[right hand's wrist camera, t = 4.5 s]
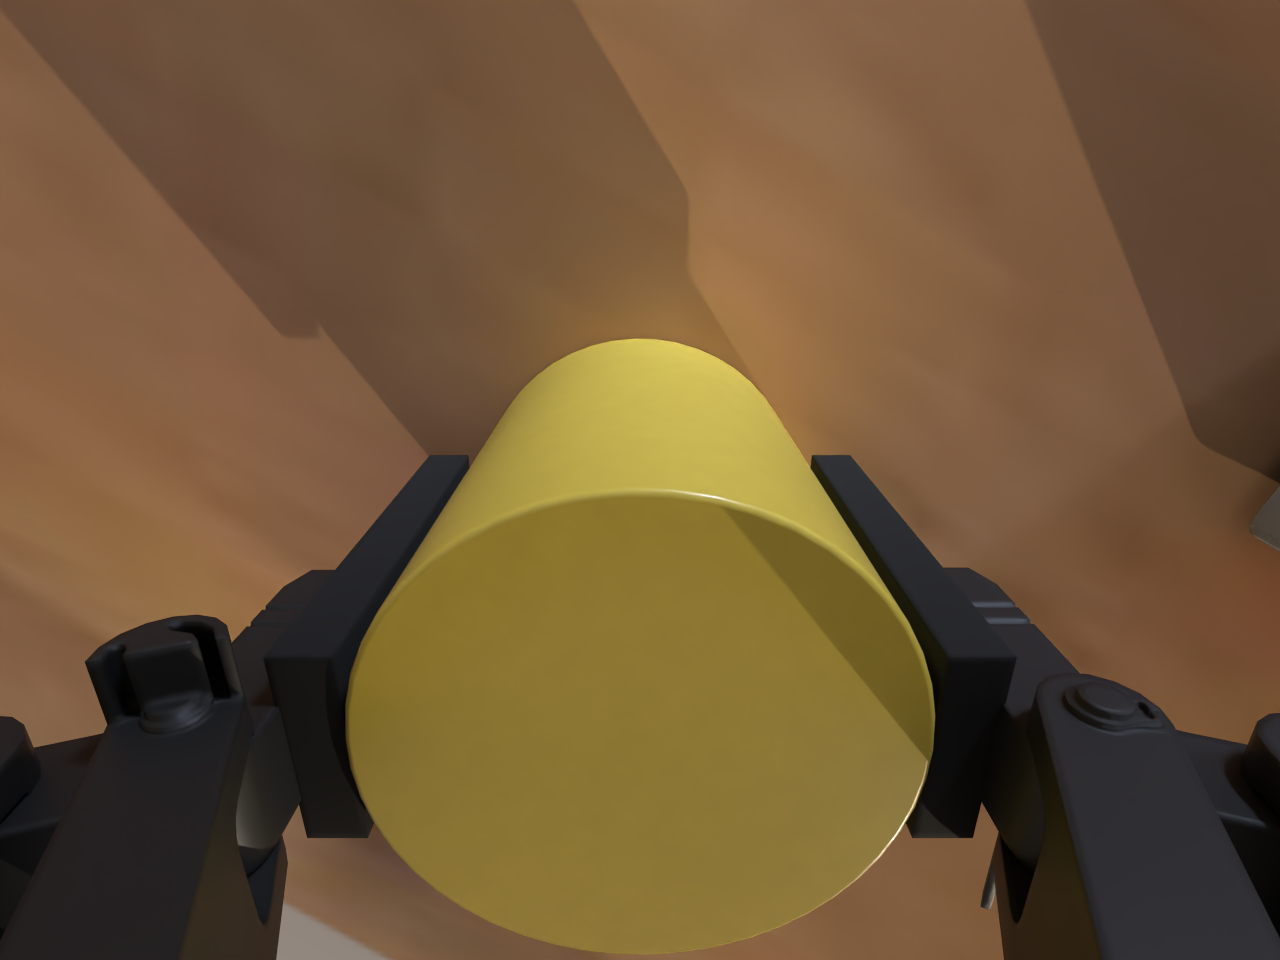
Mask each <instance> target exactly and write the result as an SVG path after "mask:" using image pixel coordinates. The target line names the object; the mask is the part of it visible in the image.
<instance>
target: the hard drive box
mask: <svg viewBox="0 0 1280 960" xmlns="http://www.w3.org/2000/svg"><path fill="white" fill-rule="evenodd" d="M1249 530H1250V533H1251V534H1252V535H1254V536H1255V537H1256V538H1258V539H1260V540H1261V541H1263V542H1265V543H1267V544H1268V545H1270V546H1272V547H1274V548H1275V549H1277V550H1279V551H1280V486H1279V487H1278V488H1277V489H1276V491H1275V492H1274V493H1273V494H1272V496H1271V497H1270V498H1269V499H1268V500H1267V502H1266V503H1265V504H1264V505H1263V506H1262V508H1261V509H1260V510H1259V511H1258V512H1257V514H1256V515H1255V516H1254V517H1253V519H1252V521H1251V523H1250V525H1249Z"/></svg>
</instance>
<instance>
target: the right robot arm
mask: <svg viewBox="0 0 1280 960" xmlns="http://www.w3.org/2000/svg"><path fill="white" fill-rule="evenodd" d="M468 470H469V460H468V455H430V456H429V457H428V458H427V460H426V461H425V462H424V463H423V464H422V466H421V467H420V468H419V469H418V470H417V472H416V473H415V474H414V475H413V477H412V478H411V479H410V480H409V481H408V483H407V484H406V485H405V486H404V487H403V489H402V490H401V491H400V492H399V493H398V495H397V496H396V497H395V498H394V499H393V501H392V502H391V503H390V504H389V506H388V507H387V508H386V509H385V510H384V512H383V513H382V514H381V515H380V516H379V518H378V519H377V520H376V521H375V522H374V524H373V525H372V526H371V527H370V529H369V530H368V531H367V532H366V533H365V535H364V536H363V537H362V538H361V539H360V541H359V542H358V543H357V544H356V545H355V547H354V548H353V549H352V550H351V551H350V553H349V554H348V555H347V556H346V558H345V559H344V560H343V561H342V562H341V564H340V565H339V566H338V567H337V568H336V570H311V571H309V572H308V573H306V574H304V575H303V576H301V577H299V578H298V579H296V580H294V581H293V582H291V583H289V584H287V585H286V586H284V587H283V588H282V589H281V590H280V591H279V592H278V593H277V595H276V596H275V597H274V598H273V599H272V600H271V601H270V602H269V603H268V604H267V605H266V610H262V611H261V612H260V613H259V614H258V615H257V616H256V617H255V618H254V619H253V620H252V622H251V626H250V627H246V628H245V629H244V630H243V631H242V632H241V633H240V635H239V636H238V637H237V638H236V639H235V640H234V641H233V642H232V643H231V639H230V635H229V632H228V628H227V625H226V624H224V623H223V622H221V621H220V620H219V619H217V618H215V617H208V616H202V615H188V616H176V617H170V618H166V619H162V620H158V621H154V622H150V623H146V624H144V625H141V626H139V627H136V628H134V629H131V630H129V631H126V632H124V633H121V634H120V635H118V636H116V637H115V638H113V639H111V640H110V641H108V642H107V643H105V644H103V645H102V646H100V647H99V648H98V649H97V650H96V651H95V652H94V653H93V654H92V655H91V656H90V657H89V658H88V659H87V660H86V661H85V664H86V667H87V669H88V672H89V675H90V678H91V680H92V683H93V686H94V689H95V692H96V694H97V697H98V700H99V703H100V705H101V708H102V711H103V714H104V716H105V719H106V722H107V727H106V729H105V731H104V733H102V734H98V735H94V736H89V737H84V738H79V739H74V740H69V741H65V742H60V743H55V744H50V745H45V746H40V747H35V748H33V745H32V743H31V741H30V738H29V736H28V733H27V731H26V729H25V726H24V724H22V723H21V722H19V721H17V720H16V719H14V718H13V717H4V716H0V960H276V955H277V947H278V939H279V931H280V923H281V915H282V906H283V898H284V890H285V882H286V874H287V866H288V861H287V854H286V848H285V844H284V840H283V837H282V833H283V831H284V830H285V828H286V826H287V824H288V823H289V821H290V819H291V817H292V816H293V814H294V812H295V810H296V808H297V807H298V805H299V806H300V810H301V814H302V818H303V822H304V826H305V830H306V835H307V838H368V836H369V834H370V831H371V829H372V827H373V824H374V822H373V820H372V818H371V816H370V814H369V812H368V810H367V809H366V807H365V805H364V803H363V801H362V799H361V797H360V794H359V791H358V788H357V785H356V782H355V780H354V777H353V774H352V771H351V767H350V761H349V755H348V750H347V744H346V735H345V703H346V697H347V691H348V685H349V679H350V673H351V670H352V667H353V664H354V661H355V658H356V655H357V653H358V650H359V647H360V644H361V641H362V639H363V638H364V636H365V634H366V632H367V630H368V628H369V627H370V625H371V623H372V621H373V619H374V617H375V616H376V614H377V612H378V610H379V609H380V607H381V606H382V604H383V603H384V601H385V599H386V598H387V596H388V595H389V593H390V592H391V590H392V588H393V587H394V585H395V584H396V582H397V581H398V579H399V578H400V576H401V574H402V573H403V571H404V570H405V568H406V567H407V565H408V563H409V562H410V560H411V559H412V557H413V556H414V554H415V552H416V551H417V549H418V548H419V546H420V545H421V543H422V542H423V540H424V538H425V537H426V535H427V534H428V532H429V531H430V529H431V527H432V526H433V524H434V523H435V521H436V520H437V518H438V517H439V515H440V513H441V512H442V510H443V509H444V507H445V506H446V504H447V502H448V501H449V499H450V498H451V496H452V495H453V493H454V491H455V490H456V488H457V487H458V485H459V484H460V482H461V481H462V479H463V477H464V476H465V474H466V473H467V471H468ZM811 470H812V471H813V473H814V474H815V476H816V478H817V479H818V481H819V482H820V484H821V485H822V487H823V489H824V490H825V492H826V493H827V495H828V496H829V498H830V500H831V501H832V503H833V504H834V506H835V507H836V509H837V510H838V512H839V514H840V515H841V517H842V518H843V520H844V521H845V523H846V525H847V526H848V528H849V529H850V531H851V532H852V534H853V536H854V537H855V539H856V540H857V542H858V543H859V545H860V547H861V548H862V550H863V551H864V553H865V554H866V556H867V557H868V559H869V561H870V562H871V564H872V565H873V567H874V568H875V570H876V572H877V573H878V575H879V576H880V578H881V579H882V581H883V583H884V584H885V586H886V587H887V589H888V590H889V592H890V593H891V595H892V597H893V598H894V600H895V601H896V603H897V604H898V606H899V608H900V609H901V611H902V612H903V614H904V615H905V617H906V619H907V620H908V622H909V624H910V626H911V628H912V630H913V632H914V634H915V636H916V638H917V641H918V643H919V645H920V647H921V649H922V651H923V654H924V657H925V661H926V664H927V668H928V671H929V675H930V679H931V682H932V689H933V698H934V708H935V729H934V744H933V752H932V757H931V761H930V765H929V769H928V774H927V778H926V781H925V783H924V786H923V788H922V791H921V793H920V796H919V798H918V801H917V803H916V806H915V808H914V809H913V811H912V813H911V814H910V816H909V818H908V820H907V821H906V824H907V827H908V829H909V831H910V834H911V836H912V838H973V835H974V831H975V826H976V822H977V818H978V814H979V810H980V806H981V802H982V803H983V805H984V807H985V808H986V810H987V812H988V814H989V815H990V817H991V819H992V821H993V822H994V824H995V826H996V828H997V829H998V831H999V833H998V837H997V840H996V844H995V848H994V852H993V855H992V859H991V863H990V867H989V871H988V874H987V878H986V882H985V886H984V890H983V895H982V901H981V907H983V908H986V909H989V910H991V906H992V903H993V899H994V895H995V894H996V896H997V904H998V913H999V921H1000V929H1001V937H1002V945H1003V953H1004V960H1280V713H1274V714H1268V715H1267V716H1265V717H1264V718H1262V719H1260V720H1259V721H1257V724H1256V726H1255V729H1254V731H1253V733H1252V736H1251V738H1250V741H1249V743H1248V745H1246V744H1241V743H1236V742H1231V741H1226V740H1221V739H1216V738H1212V737H1207V736H1202V735H1197V734H1192V733H1187V732H1182V731H1179V730H1175V728H1174V726H1173V724H1172V723H1171V721H1170V720H1169V719H1168V718H1167V716H1166V715H1165V714H1164V713H1163V711H1162V710H1161V709H1160V708H1159V707H1158V706H1156V705H1155V704H1153V703H1152V702H1151V701H1149V700H1148V699H1147V698H1145V697H1144V696H1142V695H1141V694H1140V693H1138V692H1135V691H1133V690H1131V689H1129V688H1127V687H1125V686H1123V685H1121V684H1118V683H1116V682H1114V681H1110V680H1107V679H1103V678H1100V677H1096V676H1093V675H1088V674H1080V673H1079V672H1078V671H1077V670H1076V669H1075V668H1074V667H1073V666H1072V665H1071V663H1070V662H1069V661H1068V660H1067V659H1066V658H1065V657H1064V656H1063V655H1062V654H1061V653H1060V652H1059V651H1058V650H1057V648H1056V647H1055V646H1054V645H1053V644H1052V643H1051V642H1050V641H1049V640H1048V639H1047V638H1046V637H1045V636H1044V634H1043V633H1042V632H1041V631H1040V630H1039V629H1038V628H1037V627H1036V626H1035V625H1034V624H1030V619H1029V618H1028V617H1027V616H1026V615H1025V614H1024V613H1023V612H1022V611H1021V610H1020V609H1019V608H1015V603H1014V602H1013V601H1012V600H1011V599H1010V598H1009V597H1008V596H1007V595H1006V594H1005V593H1004V592H1003V590H1002V589H1001V588H1000V587H999V586H998V585H997V584H995V583H994V582H992V581H990V580H989V579H987V578H985V577H983V576H982V575H980V574H978V573H977V572H975V571H973V570H971V569H970V568H943V567H942V566H941V565H940V564H939V562H938V561H937V560H936V559H935V558H934V556H933V555H932V554H931V553H930V551H929V550H928V549H927V548H926V547H925V545H924V544H923V543H922V542H921V541H920V539H919V538H918V537H917V536H916V535H915V533H914V532H913V531H912V530H911V529H910V527H909V526H908V525H907V524H906V522H905V521H904V520H903V519H902V518H901V516H900V515H899V514H898V513H897V512H896V510H895V509H894V508H893V507H892V506H891V504H890V503H889V502H888V501H887V499H886V498H885V497H884V496H883V495H882V493H881V492H880V491H879V490H878V489H877V487H876V486H875V485H874V484H873V483H872V481H871V480H870V479H869V478H868V476H867V475H866V474H865V473H864V472H863V470H862V469H861V468H860V467H859V466H858V464H857V463H856V462H855V461H854V460H853V458H852V457H851V456H850V455H812V460H811Z"/></svg>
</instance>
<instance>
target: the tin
mask: <svg viewBox="0 0 1280 960" xmlns="http://www.w3.org/2000/svg"><path fill="white" fill-rule="evenodd" d="M934 729H935V708H934V698H933V689H932V682H931V679H930V675H929V671H928V668H927V664H926V661H925V657H924V654H923V651H922V649H921V647H920V645H919V643H918V641H917V638H916V636H915V634H914V632H913V630H912V628H911V626H910V624H909V622H908V620H907V619H906V617H905V615H904V614H903V612H902V611H901V609H900V608H899V606H898V604H897V603H896V601H895V600H894V598H893V597H892V595H891V593H890V592H889V590H888V589H887V587H886V586H885V584H884V583H883V581H882V579H881V578H880V576H879V575H878V573H877V572H876V570H875V568H874V567H873V565H872V564H871V562H870V561H869V559H868V557H867V556H866V554H865V553H864V551H863V550H862V548H861V547H860V545H859V543H858V542H857V540H856V539H855V537H854V536H853V534H852V532H851V531H850V529H849V528H848V526H847V525H846V523H845V521H844V520H843V518H842V517H841V515H840V514H839V512H838V510H837V509H836V507H835V506H834V504H833V503H832V501H831V500H830V498H829V496H828V495H827V493H826V492H825V490H824V489H823V487H822V485H821V484H820V482H819V481H818V479H817V478H816V476H815V474H814V473H813V471H812V470H811V468H810V467H809V465H808V464H807V462H806V460H805V459H804V457H803V456H802V454H801V453H800V451H799V449H798V448H797V446H796V445H795V443H794V442H793V440H792V438H791V437H790V435H789V434H788V432H787V431H786V429H785V428H784V426H783V424H782V423H781V421H780V420H779V418H778V417H777V415H776V413H775V412H774V410H773V409H772V408H771V406H770V405H769V403H768V402H767V400H766V399H765V397H764V396H763V395H762V394H761V393H760V392H759V391H758V389H757V388H756V387H755V386H754V385H753V384H752V383H751V382H750V381H749V380H748V379H747V378H745V377H744V376H743V375H742V374H740V373H739V372H738V371H737V370H736V369H734V368H733V367H731V366H730V365H728V364H726V363H725V362H723V361H722V360H720V359H718V358H717V357H715V356H712V355H710V354H708V353H706V352H703V351H701V350H699V349H696V348H693V347H690V346H686V345H683V344H679V343H676V342H669V341H663V340H657V339H626V340H616V341H609V342H605V343H601V344H597V345H593V346H589V347H587V348H584V349H582V350H579V351H577V352H574V353H572V354H569V355H568V356H566V357H564V358H562V359H560V360H559V361H557V362H555V363H553V364H551V365H550V366H549V367H547V368H546V369H545V370H543V371H542V372H541V373H539V374H538V375H537V376H535V377H534V378H533V379H532V380H531V381H530V382H529V383H528V384H527V385H526V386H525V387H524V388H523V389H522V390H521V391H520V393H519V394H518V395H517V396H516V398H515V399H514V400H513V402H512V403H511V404H510V406H509V407H508V409H507V410H506V412H505V413H504V415H503V416H502V418H501V420H500V421H499V423H498V424H497V426H496V427H495V429H494V430H493V432H492V434H491V435H490V437H489V438H488V440H487V441H486V443H485V445H484V446H483V448H482V449H481V451H480V452H479V454H478V455H477V457H476V459H475V460H474V462H473V463H472V465H471V466H470V468H469V470H468V471H467V473H466V474H465V476H464V477H463V479H462V481H461V482H460V484H459V485H458V487H457V488H456V490H455V491H454V493H453V495H452V496H451V498H450V499H449V501H448V502H447V504H446V506H445V507H444V509H443V510H442V512H441V513H440V515H439V517H438V518H437V520H436V521H435V523H434V524H433V526H432V527H431V529H430V531H429V532H428V534H427V535H426V537H425V538H424V540H423V542H422V543H421V545H420V546H419V548H418V549H417V551H416V552H415V554H414V556H413V557H412V559H411V560H410V562H409V563H408V565H407V567H406V568H405V570H404V571H403V573H402V574H401V576H400V578H399V579H398V581H397V582H396V584H395V585H394V587H393V588H392V590H391V592H390V593H389V595H388V596H387V598H386V599H385V601H384V603H383V604H382V606H381V607H380V609H379V610H378V612H377V614H376V616H375V617H374V619H373V621H372V623H371V625H370V627H369V628H368V630H367V632H366V634H365V636H364V638H363V639H362V641H361V644H360V647H359V650H358V653H357V655H356V658H355V661H354V664H353V667H352V670H351V673H350V679H349V685H348V691H347V697H346V703H345V735H346V744H347V750H348V755H349V761H350V767H351V771H352V774H353V777H354V780H355V782H356V785H357V788H358V791H359V794H360V797H361V799H362V801H363V803H364V805H365V807H366V809H367V810H368V812H369V814H370V816H371V818H372V820H373V822H374V824H375V825H376V827H377V828H378V829H379V831H380V832H381V834H382V835H383V836H384V838H385V839H386V841H387V842H388V843H389V845H390V846H391V848H392V849H393V850H394V851H395V852H396V853H397V854H398V855H399V856H400V857H401V858H402V860H403V861H404V862H405V863H406V864H407V865H408V866H409V867H410V868H411V869H412V870H413V871H414V872H415V873H416V874H417V875H419V876H420V877H421V878H422V879H423V880H425V881H426V882H427V883H428V884H429V885H430V886H432V887H433V888H434V889H435V890H436V891H438V892H439V893H441V894H442V895H444V896H445V897H447V898H448V899H450V900H451V901H453V902H454V903H456V904H457V905H459V906H460V907H462V908H464V909H465V910H467V911H469V912H471V913H473V914H475V915H477V916H479V917H481V918H483V919H485V920H487V921H489V922H490V923H493V924H495V925H498V926H500V927H503V928H505V929H508V930H510V931H513V932H515V933H518V934H520V935H523V936H526V937H530V938H533V939H537V940H540V941H544V942H547V943H550V944H554V945H559V946H565V947H570V948H575V949H580V950H585V951H595V952H604V953H614V954H663V953H677V952H687V951H693V950H699V949H705V948H711V947H717V946H721V945H725V944H729V943H732V942H736V941H740V940H744V939H748V938H751V937H753V936H756V935H759V934H762V933H765V932H767V931H770V930H773V929H776V928H778V927H780V926H783V925H785V924H787V923H789V922H791V921H793V920H795V919H797V918H799V917H801V916H804V915H806V914H808V913H809V912H811V911H813V910H814V909H816V908H817V907H819V906H821V905H822V904H824V903H826V902H827V901H829V900H831V899H832V898H834V897H835V896H836V895H838V894H839V893H840V892H842V891H843V890H844V889H846V888H847V887H848V886H849V885H851V884H852V883H853V882H855V881H856V880H857V879H859V878H860V877H861V876H862V875H863V874H864V873H865V872H866V871H867V870H868V869H869V868H870V867H871V866H872V865H873V864H874V863H875V862H876V861H877V860H878V859H879V858H880V857H881V856H882V855H883V853H884V852H885V851H886V850H887V848H888V847H889V846H890V844H891V843H892V842H893V841H894V839H895V838H896V837H897V836H898V834H899V833H900V831H901V830H902V828H903V826H904V825H905V823H906V821H907V820H908V818H909V816H910V814H911V813H912V811H913V809H914V808H915V806H916V803H917V801H918V798H919V796H920V793H921V791H922V788H923V786H924V783H925V781H926V778H927V774H928V769H929V765H930V761H931V757H932V752H933V744H934Z"/></svg>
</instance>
